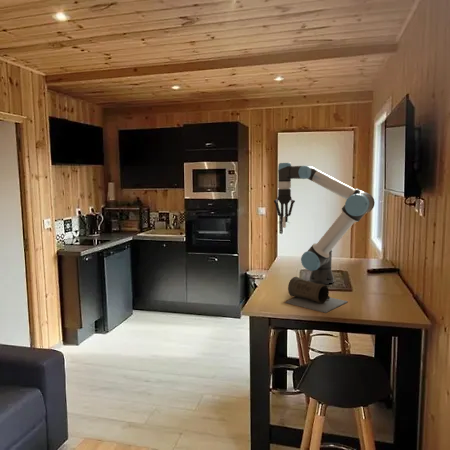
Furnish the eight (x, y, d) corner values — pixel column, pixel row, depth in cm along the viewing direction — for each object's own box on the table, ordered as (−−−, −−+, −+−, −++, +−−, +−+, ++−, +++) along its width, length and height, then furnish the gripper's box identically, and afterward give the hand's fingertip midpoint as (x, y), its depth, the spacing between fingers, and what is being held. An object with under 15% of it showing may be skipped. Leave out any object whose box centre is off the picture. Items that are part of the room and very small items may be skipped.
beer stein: (285, 294, 225) (316, 304, 211) (289, 275, 226) (321, 283, 212) (300, 297, 236) (331, 306, 222) (304, 278, 237) (336, 286, 223)
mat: (285, 302, 220) (285, 301, 220) (308, 293, 236) (308, 292, 236) (325, 312, 204) (325, 311, 204) (347, 302, 220) (347, 301, 219)
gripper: (296, 188, 254) (295, 226, 257) (275, 188, 259) (275, 226, 262) (294, 188, 247) (293, 228, 250) (272, 188, 251) (272, 227, 255)
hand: (284, 227), depth 256 cm, fingers closed
